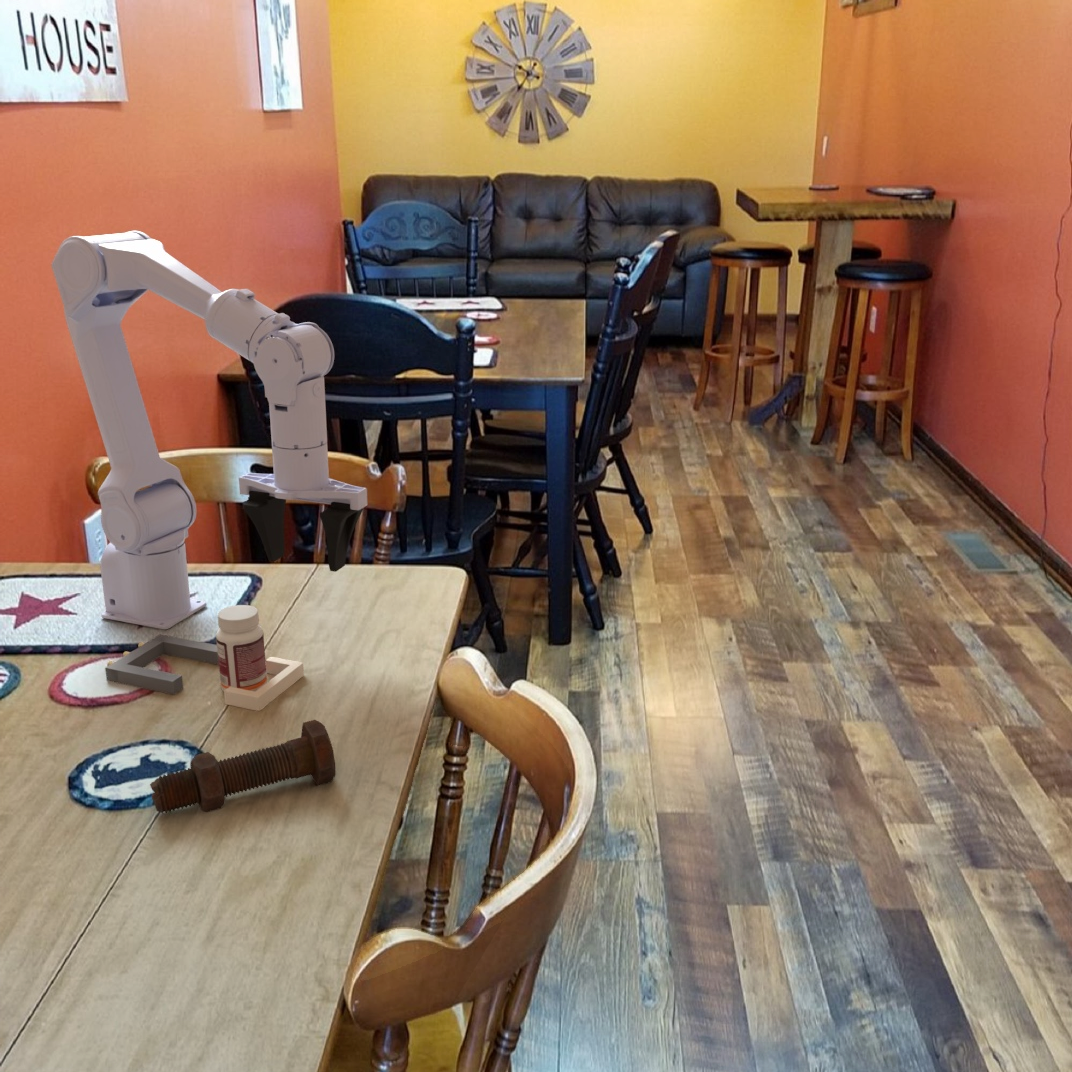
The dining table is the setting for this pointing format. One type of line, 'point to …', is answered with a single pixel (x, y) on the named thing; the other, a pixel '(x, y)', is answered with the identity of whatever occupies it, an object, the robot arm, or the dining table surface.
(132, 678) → the gray u-shaped bracket
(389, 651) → the dining table surface
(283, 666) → the bracket
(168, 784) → the bolt
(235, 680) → the pill bottle
